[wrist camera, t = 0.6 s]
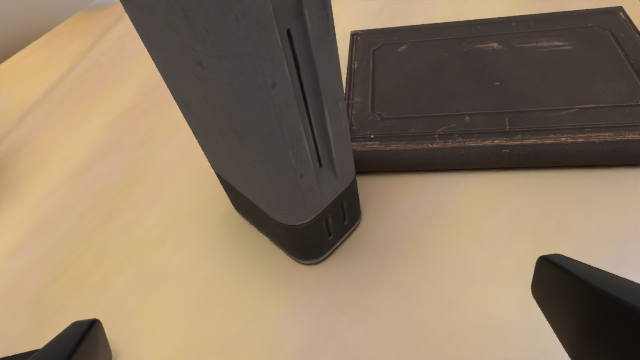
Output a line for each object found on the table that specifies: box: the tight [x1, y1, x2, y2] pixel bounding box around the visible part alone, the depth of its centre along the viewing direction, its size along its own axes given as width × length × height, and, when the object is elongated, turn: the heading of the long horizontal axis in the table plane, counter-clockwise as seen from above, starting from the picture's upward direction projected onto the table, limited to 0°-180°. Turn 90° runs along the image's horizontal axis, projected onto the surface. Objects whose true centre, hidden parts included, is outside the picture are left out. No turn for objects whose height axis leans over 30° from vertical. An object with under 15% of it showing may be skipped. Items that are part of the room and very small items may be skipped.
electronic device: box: [120, 0, 361, 264], centre depth 22 cm, size 9×6×20 cm, turn 46°
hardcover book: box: [345, 6, 640, 172], centre depth 32 cm, size 16×23×2 cm
